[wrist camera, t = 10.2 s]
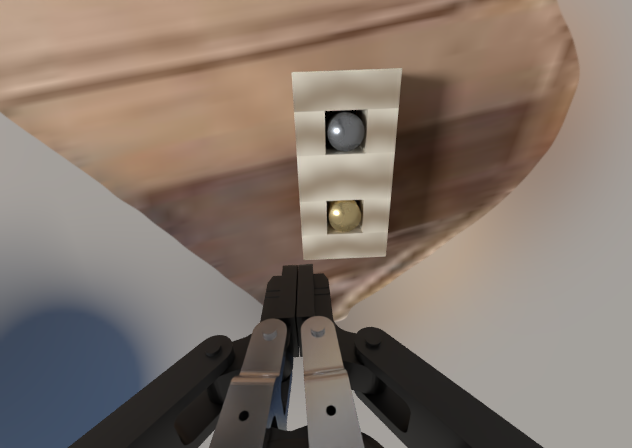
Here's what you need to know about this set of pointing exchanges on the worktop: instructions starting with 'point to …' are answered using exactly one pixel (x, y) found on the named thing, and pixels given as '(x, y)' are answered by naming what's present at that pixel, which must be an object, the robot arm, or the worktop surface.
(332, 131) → the steel peg
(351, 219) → the brass peg
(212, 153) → the worktop surface
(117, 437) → the robot arm
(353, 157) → the ash socket block
